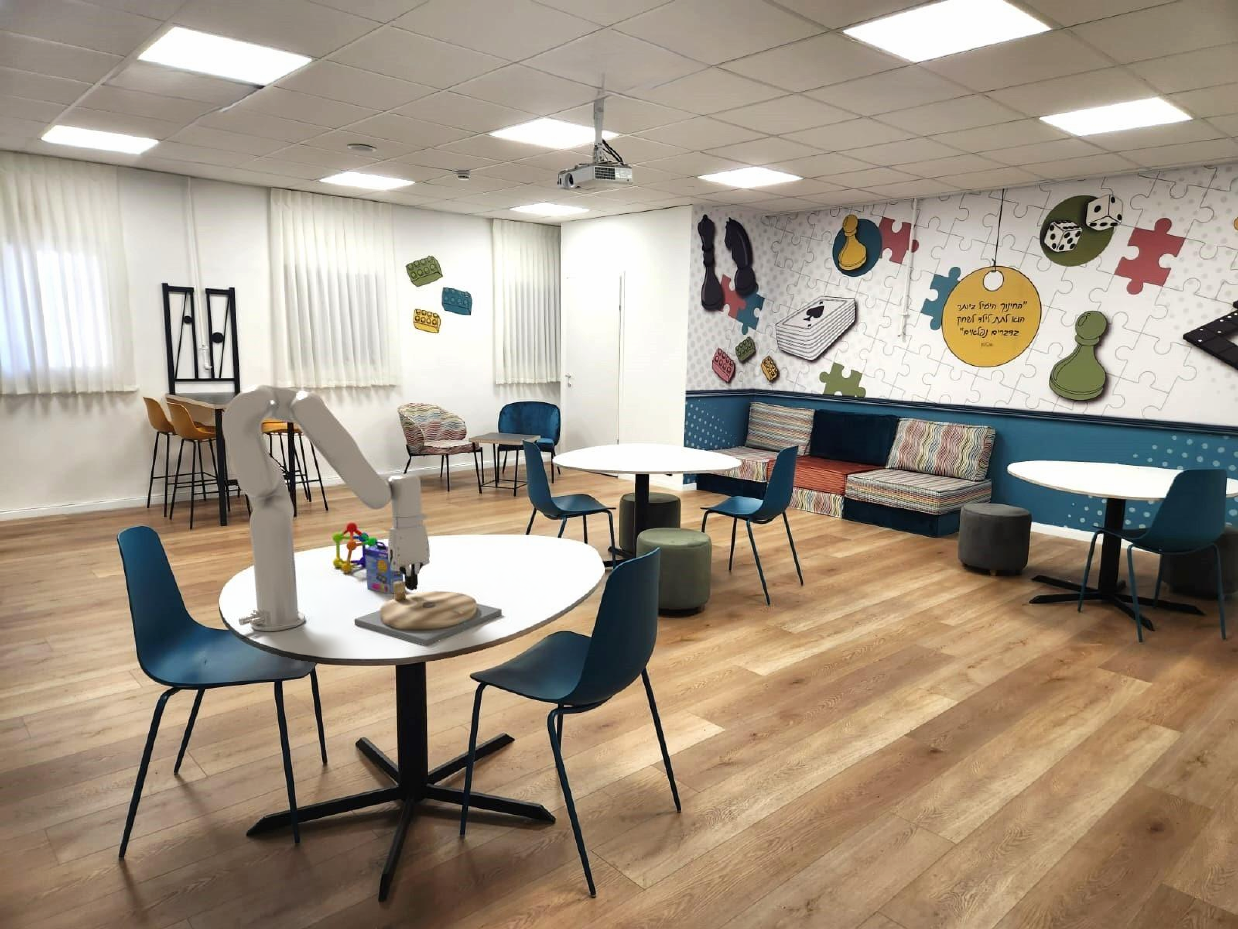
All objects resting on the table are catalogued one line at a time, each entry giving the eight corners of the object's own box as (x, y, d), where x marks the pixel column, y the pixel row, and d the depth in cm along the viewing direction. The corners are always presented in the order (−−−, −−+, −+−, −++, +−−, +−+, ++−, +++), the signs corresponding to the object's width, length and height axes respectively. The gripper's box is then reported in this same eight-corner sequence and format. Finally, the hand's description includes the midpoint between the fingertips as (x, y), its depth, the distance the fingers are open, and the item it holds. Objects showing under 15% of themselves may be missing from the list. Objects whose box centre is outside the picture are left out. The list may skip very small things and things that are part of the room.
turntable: (495, 608, 212) (495, 584, 211) (429, 636, 192) (428, 610, 191) (429, 593, 225) (428, 570, 224) (360, 618, 205) (358, 594, 204)
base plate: (426, 646, 191) (426, 639, 191) (354, 624, 205) (354, 618, 205) (501, 614, 212) (501, 608, 212) (431, 597, 227) (431, 591, 226)
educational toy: (385, 570, 257) (385, 524, 254) (348, 579, 248) (347, 532, 244) (358, 557, 267) (358, 513, 264) (322, 565, 258) (321, 519, 254)
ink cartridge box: (365, 589, 234) (363, 540, 232) (380, 584, 239) (377, 536, 237) (390, 594, 229) (387, 544, 227) (404, 589, 234) (402, 540, 232)
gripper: (426, 514, 221) (430, 580, 223) (374, 523, 211) (379, 591, 214) (440, 519, 215) (443, 586, 218) (387, 528, 205) (391, 598, 208)
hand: (411, 588), depth 216 cm, fingers closed
